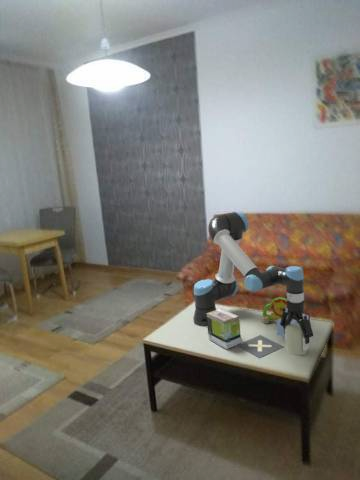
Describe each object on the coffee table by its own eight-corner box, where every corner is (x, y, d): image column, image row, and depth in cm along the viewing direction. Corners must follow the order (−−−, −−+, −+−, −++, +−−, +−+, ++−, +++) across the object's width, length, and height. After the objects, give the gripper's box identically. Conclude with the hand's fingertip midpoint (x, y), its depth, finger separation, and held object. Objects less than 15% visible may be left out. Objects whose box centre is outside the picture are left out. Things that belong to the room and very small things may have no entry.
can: (308, 355, 164) (307, 331, 162) (287, 355, 166) (286, 331, 164) (305, 345, 173) (304, 322, 171) (285, 345, 175) (284, 322, 173)
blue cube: (277, 334, 186) (276, 320, 185) (288, 329, 190) (287, 315, 189) (289, 340, 180) (288, 325, 178) (300, 335, 184) (299, 320, 182)
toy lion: (262, 323, 200) (261, 297, 197) (264, 319, 205) (263, 294, 202) (291, 327, 193) (291, 300, 190) (293, 322, 198) (292, 296, 195)
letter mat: (236, 345, 179) (236, 344, 179) (260, 335, 187) (260, 334, 187) (259, 358, 166) (259, 357, 166) (283, 346, 174) (283, 346, 173)
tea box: (242, 343, 180) (240, 315, 177) (226, 350, 175) (224, 321, 172) (223, 333, 193) (220, 307, 190) (207, 339, 188) (205, 312, 185)
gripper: (271, 296, 172) (273, 338, 177) (310, 309, 153) (311, 357, 158) (282, 292, 176) (283, 334, 180) (321, 304, 157) (322, 351, 161)
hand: (296, 345), depth 169 cm, fingers open, 10 cm apart
